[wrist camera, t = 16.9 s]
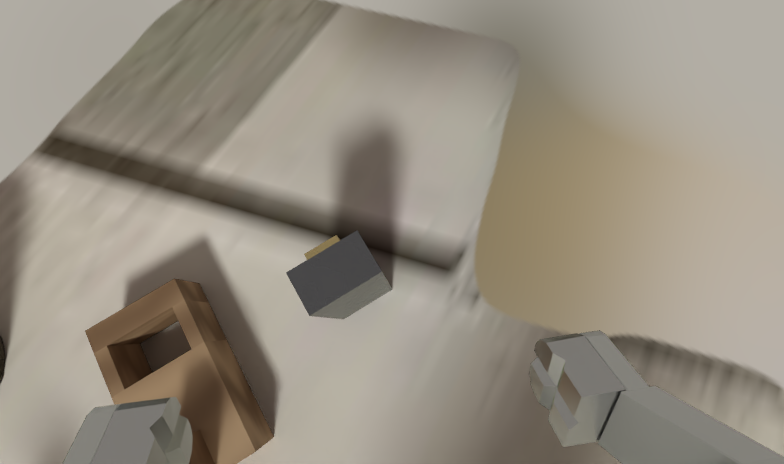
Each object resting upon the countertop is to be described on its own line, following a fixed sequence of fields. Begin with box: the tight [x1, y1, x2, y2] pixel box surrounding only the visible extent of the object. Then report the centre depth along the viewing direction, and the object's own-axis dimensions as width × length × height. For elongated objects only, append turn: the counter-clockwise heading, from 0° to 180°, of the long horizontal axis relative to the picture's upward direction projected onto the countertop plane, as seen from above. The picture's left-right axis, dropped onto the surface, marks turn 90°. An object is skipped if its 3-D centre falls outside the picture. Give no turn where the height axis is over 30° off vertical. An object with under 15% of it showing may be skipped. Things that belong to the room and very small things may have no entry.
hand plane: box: [85, 279, 274, 464], centre depth 31 cm, size 15×8×9 cm, turn 31°
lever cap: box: [287, 231, 392, 319], centre depth 30 cm, size 4×5×12 cm
